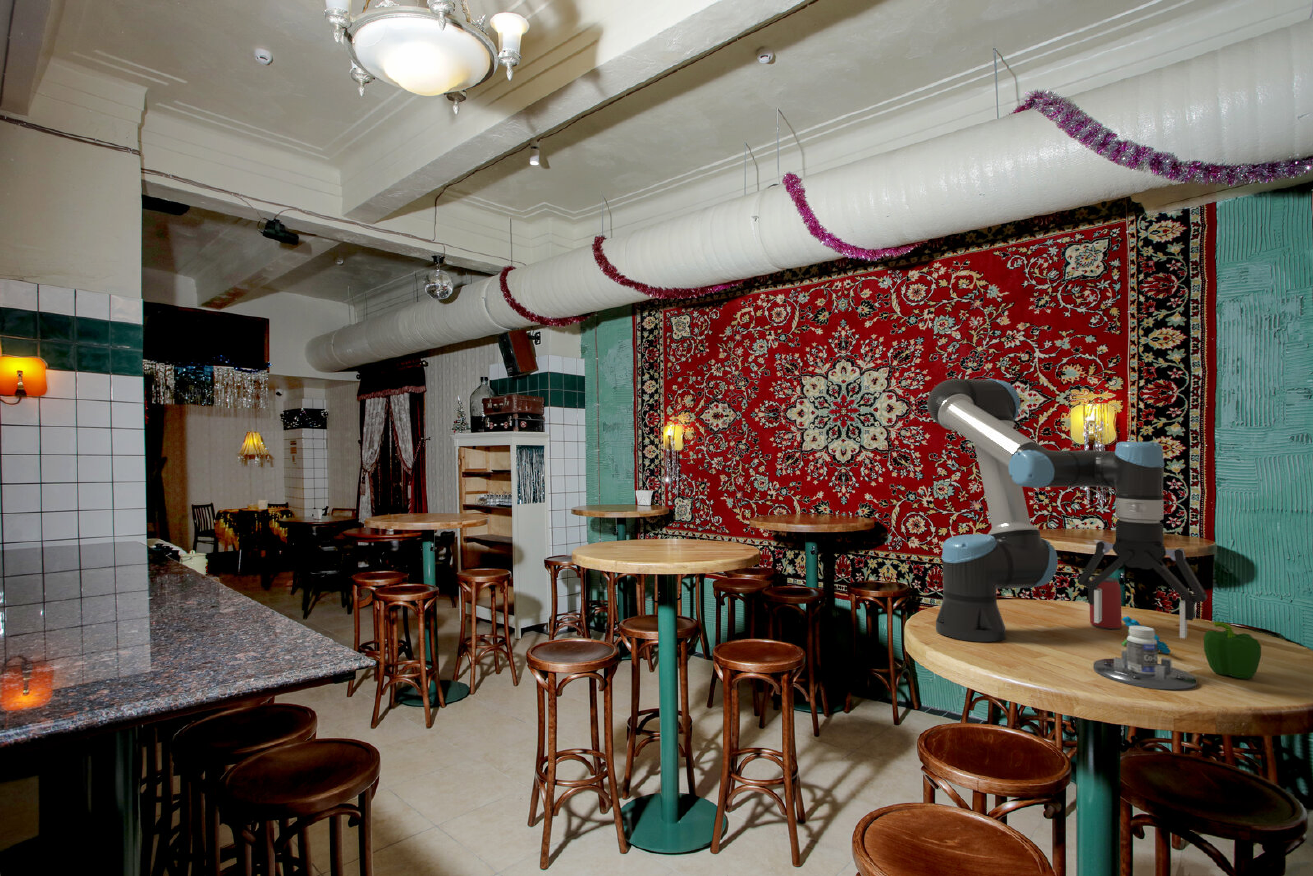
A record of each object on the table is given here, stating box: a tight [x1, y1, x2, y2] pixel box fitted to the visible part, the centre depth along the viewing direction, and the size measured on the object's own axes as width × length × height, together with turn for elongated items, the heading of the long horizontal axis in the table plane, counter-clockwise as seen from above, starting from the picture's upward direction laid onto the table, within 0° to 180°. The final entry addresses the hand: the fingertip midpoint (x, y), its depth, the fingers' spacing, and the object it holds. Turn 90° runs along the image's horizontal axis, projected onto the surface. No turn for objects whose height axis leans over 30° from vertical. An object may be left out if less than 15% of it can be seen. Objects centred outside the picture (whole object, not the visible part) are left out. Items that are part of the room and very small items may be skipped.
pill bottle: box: [1126, 625, 1159, 675], centre depth 126 cm, size 5×5×8 cm
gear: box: [1121, 616, 1172, 655], centre depth 142 cm, size 11×6×10 cm
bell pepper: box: [1203, 621, 1262, 680], centre depth 127 cm, size 8×8×10 cm
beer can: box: [1089, 575, 1123, 630], centre depth 163 cm, size 7×7×12 cm
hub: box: [1092, 650, 1198, 691], centre depth 126 cm, size 16×16×3 cm
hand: (1139, 629), depth 127 cm, fingers open, 13 cm apart
